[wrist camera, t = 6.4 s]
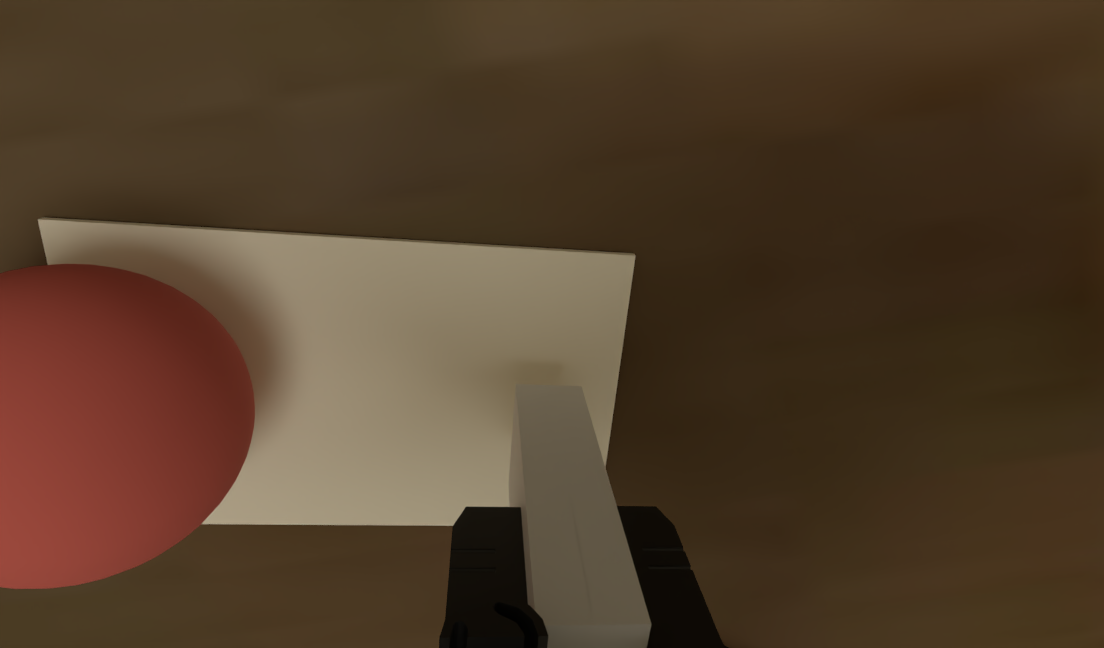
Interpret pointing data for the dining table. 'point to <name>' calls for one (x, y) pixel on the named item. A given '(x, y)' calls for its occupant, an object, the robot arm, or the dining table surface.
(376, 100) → the dining table surface
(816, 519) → the dining table surface
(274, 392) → the cream flat rectangular slab
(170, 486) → the ball
